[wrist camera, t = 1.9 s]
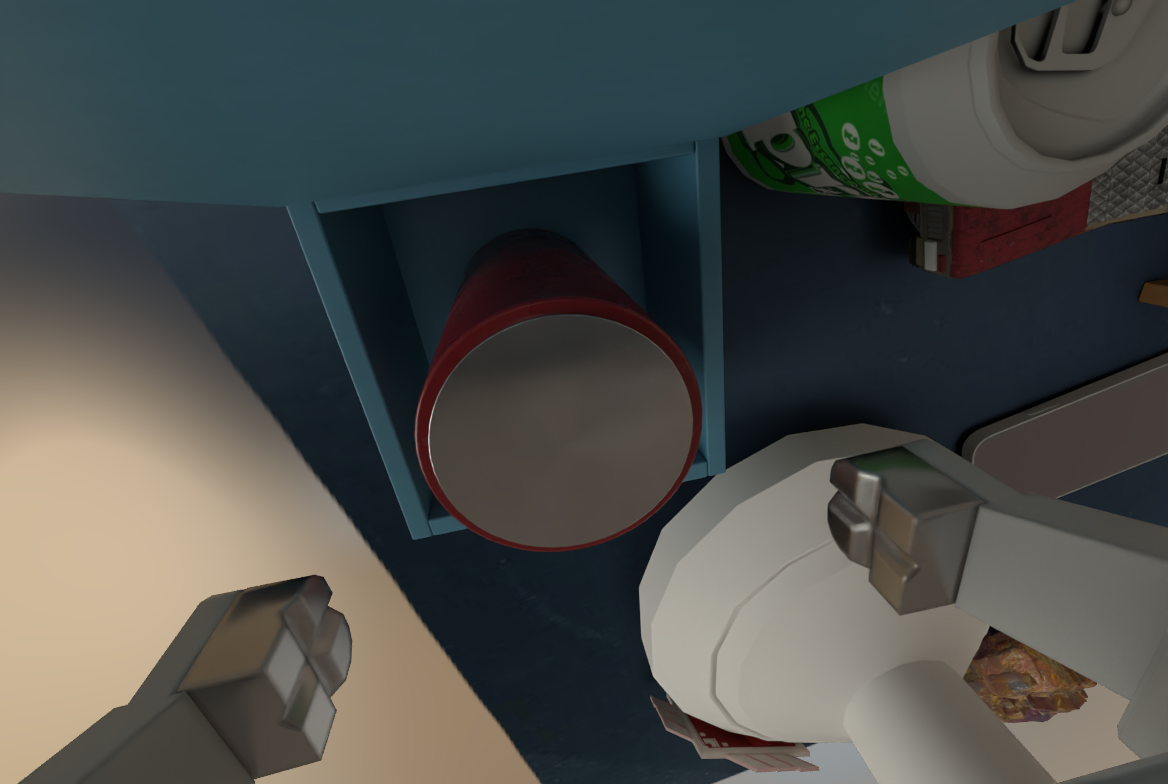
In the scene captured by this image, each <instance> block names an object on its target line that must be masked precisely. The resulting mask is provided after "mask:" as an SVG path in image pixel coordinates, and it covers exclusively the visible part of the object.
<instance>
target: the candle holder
mask: <svg viewBox="0 0 1168 784" xmlns="http://www.w3.org/2000/svg"><path fill="white" fill-rule="evenodd" d="M921 439H927V440H931V439H930V438H928V437H927V436H924V435H919V434H914V433H909V432H904V431H899V430H894V429H889V428H884V427H879V426H874V425H869V424H864V423H862V424H855V425H849V426H843V427H836V428H830V429H824V430H817V431H811V432H805V433H799V434H792V435H787V436H785V437H784V438H782V439H780V440H778V441H776V442H775V443H773V444H771V445H769V446H767V447H766V448H764V449H762V450H760V451H759V452H757V453H755V454H753V455H751V456H750V457H748V458H746V459H744V460H742V461H741V462H739V463H737V464H735V465H734V466H732V467H730V468H728V469H726V472H725V473H722V474H717V475H716V476H715V477H714V478H713V479H712V480H711V481H710V482H709V483H708V484H707V485H706V486H705V487H704V488H703V489H702V490H701V491H700V492H699V493H698V494H697V495H696V496H695V497H694V498H693V499H692V500H691V501H690V502H689V503H688V504H687V505H686V506H685V507H684V508H683V509H682V510H681V511H680V512H679V513H678V514H677V515H676V516H675V517H674V518H673V519H672V520H671V521H670V522H669V523H668V524H667V525H666V526H665V527H664V528H663V529H662V531H661V533H660V536H659V538H658V541H657V543H656V546H655V548H654V551H653V553H652V556H651V558H650V561H649V563H648V566H647V568H646V571H645V573H644V576H643V578H642V581H641V583H640V586H639V597H640V618H641V638H642V641H643V644H644V648H645V651H646V654H647V658H648V661H649V664H650V668H651V671H652V674H653V677H654V678H655V679H656V680H657V682H658V683H659V684H660V685H661V686H662V687H663V689H664V690H665V691H666V692H667V693H668V695H669V696H670V697H671V698H672V699H673V700H674V702H675V703H676V704H677V705H678V706H679V708H680V709H681V710H682V711H683V712H684V713H687V714H689V715H691V716H694V717H696V718H698V719H700V720H703V721H705V722H707V723H710V724H712V725H714V726H717V727H719V728H721V729H724V730H726V731H728V732H733V733H738V734H743V735H748V736H753V737H757V738H760V739H763V740H766V741H784V742H809V743H828V742H842V743H854V745H855V746H856V748H857V749H858V751H859V753H860V754H861V756H862V758H863V759H864V761H865V762H866V764H867V766H868V767H869V769H870V771H871V772H872V774H873V775H874V777H875V779H876V781H877V782H878V784H1056V783H1057V782H1056V781H1055V780H1054V779H1053V778H1052V777H1051V776H1050V774H1048V772H1047V771H1046V770H1045V769H1044V768H1043V767H1042V766H1041V765H1040V764H1039V762H1038V761H1037V760H1036V759H1035V758H1034V757H1033V756H1032V755H1031V753H1030V752H1029V751H1028V750H1027V749H1026V748H1025V747H1024V746H1023V745H1022V744H1021V742H1020V741H1019V740H1018V739H1017V738H1016V737H1015V736H1014V735H1013V734H1012V733H1011V731H1010V730H1009V729H1008V728H1007V727H1006V726H1005V725H1004V724H1003V723H1002V721H1001V720H1000V719H999V718H998V717H997V716H996V715H995V714H994V713H993V712H992V710H991V709H990V708H989V707H988V706H987V705H986V704H985V703H984V702H983V701H982V699H981V698H980V697H979V696H978V695H977V694H976V693H975V692H974V691H973V690H972V688H971V687H970V686H969V685H968V684H967V683H966V682H965V681H964V680H963V677H964V675H965V673H966V671H967V669H968V667H969V665H970V663H971V661H972V659H973V657H974V655H975V654H976V652H977V651H978V649H979V647H980V645H981V642H982V639H983V638H984V636H985V635H986V634H987V632H988V629H989V626H990V625H988V624H986V623H984V622H982V621H980V620H978V619H976V618H975V617H973V616H971V615H969V614H967V613H965V612H963V611H961V610H960V609H958V608H956V607H955V604H952V605H947V606H942V607H938V608H933V609H929V610H924V611H920V612H915V613H910V614H906V615H901V616H900V615H899V614H898V613H897V612H896V611H895V610H894V609H893V608H892V607H891V606H890V605H889V603H888V602H887V601H886V600H885V599H884V598H883V597H882V596H881V595H880V594H879V593H878V591H877V590H876V589H875V588H874V587H873V586H872V585H871V584H870V583H869V582H868V568H866V567H863V566H861V565H859V564H857V563H854V562H852V561H850V560H849V559H848V558H847V557H846V556H845V555H844V554H843V552H842V551H841V550H840V549H839V548H838V546H837V544H836V542H835V541H834V539H833V537H832V535H831V532H830V528H829V525H828V522H827V509H828V503H829V501H830V500H831V499H832V497H833V496H834V494H835V493H836V492H837V490H836V488H835V487H834V486H833V485H832V484H831V483H830V472H831V467H832V466H833V464H834V462H835V460H839V459H843V458H847V457H852V456H856V455H861V454H865V453H870V452H874V451H878V450H883V449H887V448H893V447H894V446H896V445H900V444H905V443H909V442H913V441H917V440H921ZM931 441H933V440H931Z"/></svg>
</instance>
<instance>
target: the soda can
mask: <svg viewBox="0 0 1168 784" xmlns="http://www.w3.org/2000/svg"><path fill="white" fill-rule="evenodd" d="M1167 125H1168V0H1078V1H1075V2H1073V3H1070V4H1067V5H1065V6H1062V7H1060V8H1057V9H1054V10H1052V11H1049V12H1047V13H1044V14H1041V15H1039V16H1036V17H1034V18H1031V19H1028V20H1026V21H1023V22H1021V23H1018V24H1015V25H1013V26H1010V27H1008V28H1005V29H1003V30H1000V31H997V32H995V33H992V34H990V35H987V36H984V37H982V38H979V39H977V40H974V41H971V42H969V43H966V44H964V45H961V46H958V47H956V48H953V49H951V50H948V51H945V52H943V53H940V54H938V55H935V56H932V57H930V58H927V59H925V60H922V61H920V62H917V63H914V64H912V65H909V66H907V67H904V68H901V69H899V70H896V71H894V72H891V73H888V74H886V75H883V76H881V77H878V78H875V79H873V80H870V81H868V82H865V83H862V84H860V85H857V86H855V87H852V88H850V89H847V90H844V91H842V92H839V93H837V94H834V95H831V96H829V97H826V98H824V99H821V100H818V101H816V102H813V103H811V104H808V105H805V106H803V107H800V108H798V109H795V110H792V111H790V112H787V113H785V114H782V115H780V116H777V117H774V118H772V119H769V120H767V121H764V122H761V123H759V124H756V125H754V126H751V127H748V128H746V129H743V130H741V131H738V132H735V133H733V134H730V135H728V136H724V137H721V139H722V142H723V145H724V148H725V150H726V153H727V155H728V156H729V157H730V158H731V160H732V161H733V162H734V163H735V165H736V166H737V167H738V168H739V170H740V171H741V172H742V174H743V175H744V176H746V177H748V178H749V179H751V180H753V181H754V182H756V183H758V184H760V185H761V186H763V187H765V188H766V189H770V190H777V191H784V192H791V193H803V194H816V195H829V196H841V197H854V198H867V199H880V200H893V201H905V202H918V203H931V204H944V205H957V206H970V207H982V208H995V209H1014V208H1018V207H1023V206H1027V205H1031V204H1036V203H1040V202H1044V201H1049V200H1053V199H1057V198H1059V197H1061V196H1063V195H1065V194H1066V193H1068V192H1070V191H1072V190H1074V189H1075V188H1077V187H1079V186H1081V185H1083V184H1084V183H1086V182H1088V181H1090V180H1092V179H1093V178H1095V177H1097V176H1099V175H1100V174H1102V173H1104V172H1106V171H1107V170H1108V169H1110V168H1111V167H1112V166H1113V165H1114V164H1115V163H1116V162H1117V161H1118V160H1120V159H1121V158H1122V157H1123V156H1124V155H1125V154H1127V153H1129V152H1130V151H1132V150H1134V149H1136V148H1137V147H1139V146H1141V145H1143V144H1145V143H1146V142H1148V141H1150V140H1151V139H1152V138H1153V137H1155V136H1156V135H1157V134H1158V133H1159V132H1160V131H1161V130H1162V129H1164V128H1165V127H1166V126H1167Z"/></svg>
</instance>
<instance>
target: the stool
mask: <svg viewBox="0 0 1168 784" xmlns="http://www.w3.org/2000/svg"><path fill="white" fill-rule="evenodd" d="M1139 302H1143V303H1148V304H1153V305H1158V306H1163V307H1168V280H1164V279H1161V280H1156V281H1151V282H1146V283H1145V284H1144V286H1143V289H1142V292H1141V295H1140V298H1139Z"/></svg>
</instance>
